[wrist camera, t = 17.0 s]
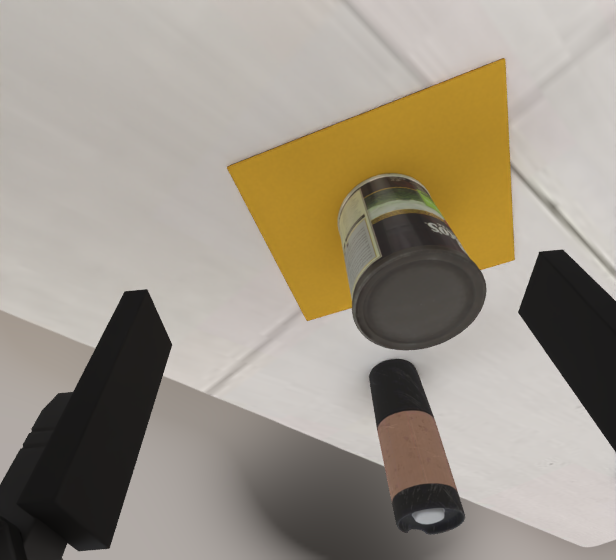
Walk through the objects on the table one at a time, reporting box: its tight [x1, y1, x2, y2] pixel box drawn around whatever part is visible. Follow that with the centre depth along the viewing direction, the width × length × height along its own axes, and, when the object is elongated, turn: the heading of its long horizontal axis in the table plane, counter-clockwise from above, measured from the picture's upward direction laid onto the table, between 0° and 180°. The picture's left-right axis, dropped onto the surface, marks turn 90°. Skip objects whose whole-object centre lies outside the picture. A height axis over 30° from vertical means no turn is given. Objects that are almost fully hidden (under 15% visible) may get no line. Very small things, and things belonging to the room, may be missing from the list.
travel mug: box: [369, 359, 465, 534], centre depth 50 cm, size 8×8×20 cm
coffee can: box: [338, 173, 486, 350], centre depth 35 cm, size 10×10×14 cm
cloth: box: [227, 58, 515, 321], centre depth 41 cm, size 26×22×1 cm
